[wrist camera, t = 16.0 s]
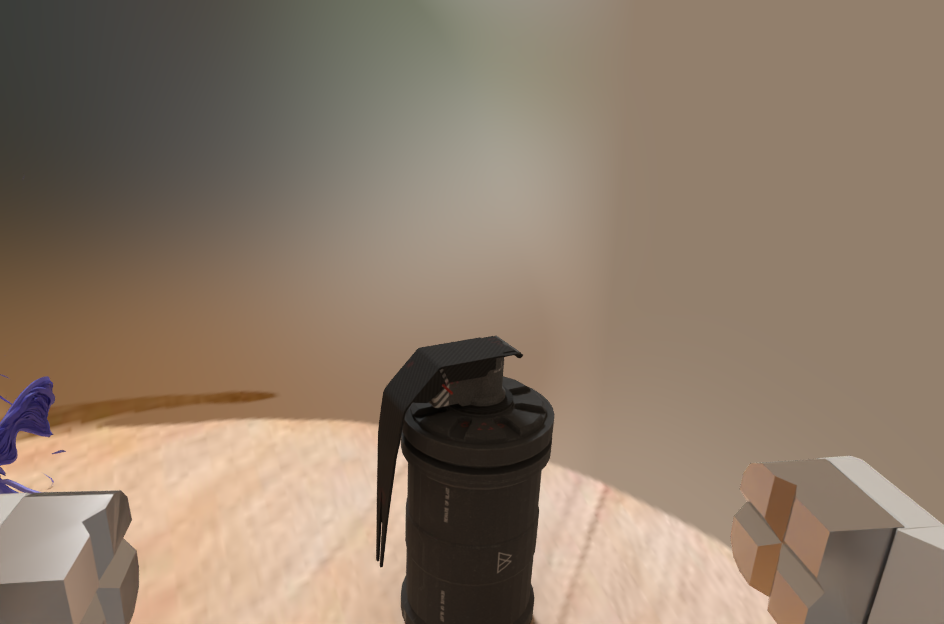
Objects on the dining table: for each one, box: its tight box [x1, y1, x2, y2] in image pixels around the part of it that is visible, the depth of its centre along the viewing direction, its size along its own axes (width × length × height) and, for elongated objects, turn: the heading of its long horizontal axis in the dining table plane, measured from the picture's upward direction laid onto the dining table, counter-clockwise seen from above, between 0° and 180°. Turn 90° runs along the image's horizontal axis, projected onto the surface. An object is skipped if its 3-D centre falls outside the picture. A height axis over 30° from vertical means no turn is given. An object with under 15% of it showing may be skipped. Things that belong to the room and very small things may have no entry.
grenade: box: [376, 336, 554, 624], centre depth 43 cm, size 9×11×20 cm
